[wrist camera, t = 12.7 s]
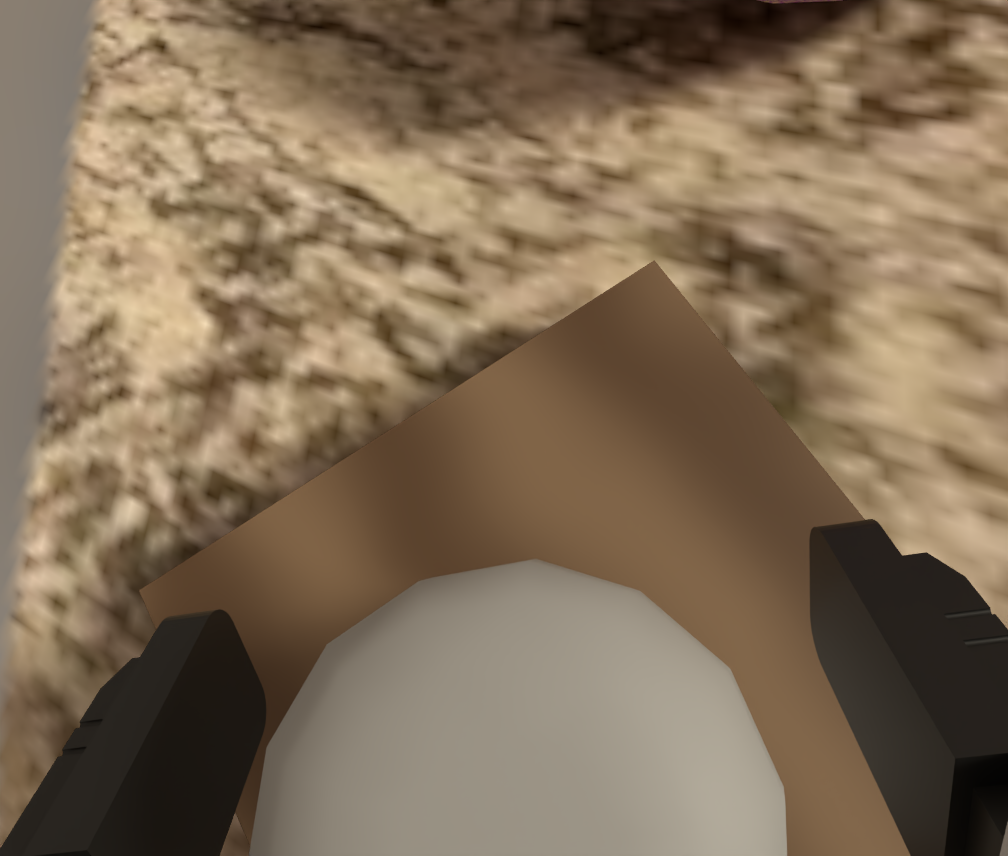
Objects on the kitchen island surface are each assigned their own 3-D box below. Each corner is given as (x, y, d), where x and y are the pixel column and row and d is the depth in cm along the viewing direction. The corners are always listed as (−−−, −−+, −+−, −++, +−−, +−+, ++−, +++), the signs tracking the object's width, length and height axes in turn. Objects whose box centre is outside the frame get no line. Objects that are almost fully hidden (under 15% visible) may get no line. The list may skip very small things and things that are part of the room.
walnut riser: (649, 322, 24) (654, 260, 21) (1024, 802, 19) (1122, 836, 16) (215, 602, 24) (138, 590, 20) (483, 1173, 19) (448, 1302, 15)
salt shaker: (424, 813, 18) (-43, 1142, 5) (500, 566, 19) (269, 375, 7) (683, 911, 16) (861, 1660, 4) (743, 640, 18) (1014, 567, 5)
